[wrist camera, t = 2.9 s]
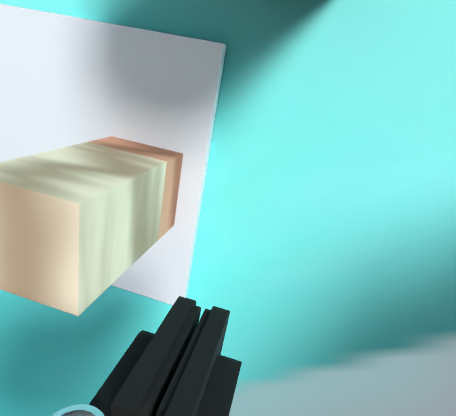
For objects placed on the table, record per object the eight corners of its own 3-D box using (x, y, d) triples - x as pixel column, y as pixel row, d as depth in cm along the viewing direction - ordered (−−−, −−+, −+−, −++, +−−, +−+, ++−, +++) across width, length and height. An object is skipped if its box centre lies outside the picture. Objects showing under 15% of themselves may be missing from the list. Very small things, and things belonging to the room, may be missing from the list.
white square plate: (226, 45, 19) (223, 43, 18) (185, 303, 26) (182, 308, 25) (-25, 0, 22) (-34, -3, 21) (-3, 243, 28) (-9, 246, 28)
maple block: (183, 153, 21) (79, 204, 12) (174, 225, 23) (78, 316, 14) (111, 136, 22) (-37, 170, 13) (108, 206, 24) (-24, 281, 15)
